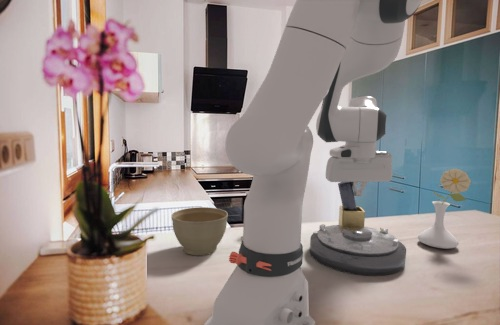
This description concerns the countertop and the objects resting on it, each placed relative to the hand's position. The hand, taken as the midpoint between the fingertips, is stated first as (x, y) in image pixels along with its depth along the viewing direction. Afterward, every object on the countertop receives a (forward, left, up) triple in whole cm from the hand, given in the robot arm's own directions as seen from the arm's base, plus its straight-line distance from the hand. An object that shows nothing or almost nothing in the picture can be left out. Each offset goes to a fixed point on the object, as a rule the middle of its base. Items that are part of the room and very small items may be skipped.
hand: (357, 195), depth 102 cm
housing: (-8, -2, -16) cm, 18 cm away
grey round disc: (-8, -2, -11) cm, 14 cm away
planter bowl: (-31, +37, -16) cm, 51 cm away
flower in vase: (+16, -22, -16) cm, 32 cm away
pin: (-1, +1, -10) cm, 10 cm away
